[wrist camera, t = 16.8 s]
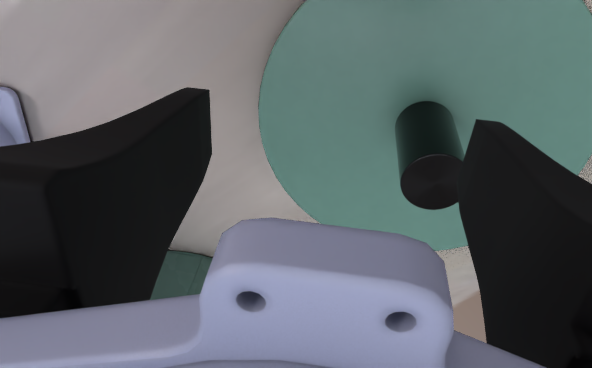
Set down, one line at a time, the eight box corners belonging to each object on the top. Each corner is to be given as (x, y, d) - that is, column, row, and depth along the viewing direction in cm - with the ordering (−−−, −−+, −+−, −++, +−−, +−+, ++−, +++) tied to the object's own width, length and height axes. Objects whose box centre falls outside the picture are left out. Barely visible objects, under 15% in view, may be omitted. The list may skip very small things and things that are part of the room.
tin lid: (257, 219, 28) (236, 293, 23) (268, -82, 19) (238, -57, 15) (530, 255, 27) (562, 339, 23) (671, -43, 18) (771, -4, 14)
